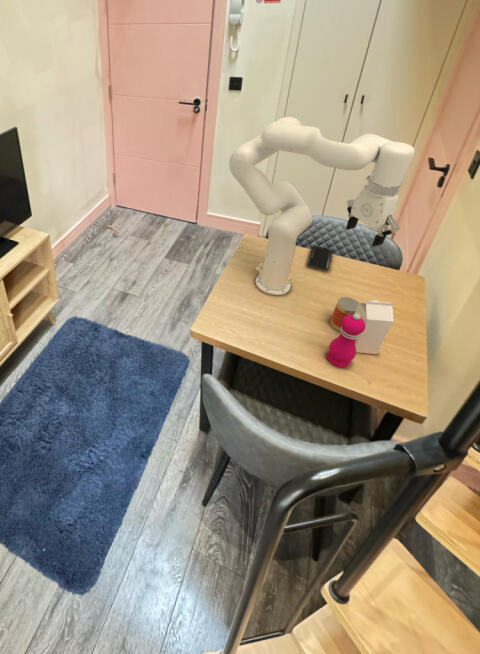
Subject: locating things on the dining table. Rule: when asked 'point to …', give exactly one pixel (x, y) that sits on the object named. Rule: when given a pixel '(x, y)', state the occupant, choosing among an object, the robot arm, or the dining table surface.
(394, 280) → the dining table surface
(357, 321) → the pepper mill
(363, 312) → the milk carton
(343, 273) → the dining table surface
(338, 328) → the sauce tin
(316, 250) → the phone
